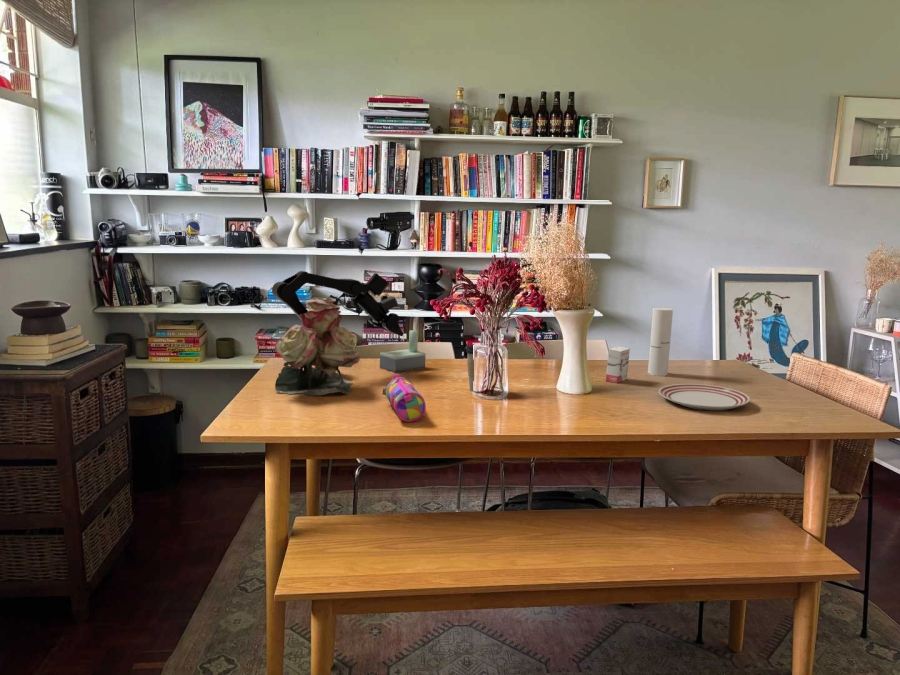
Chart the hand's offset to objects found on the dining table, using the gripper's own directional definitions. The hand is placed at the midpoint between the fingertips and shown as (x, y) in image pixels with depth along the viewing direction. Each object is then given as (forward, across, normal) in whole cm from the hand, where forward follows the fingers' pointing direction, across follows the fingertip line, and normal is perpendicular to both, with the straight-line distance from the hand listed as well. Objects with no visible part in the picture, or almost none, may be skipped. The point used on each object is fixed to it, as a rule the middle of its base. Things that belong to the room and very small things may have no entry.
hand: (397, 333), depth 250 cm
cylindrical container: (+71, -47, -52) cm, 100 cm away
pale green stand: (+7, -1, +5) cm, 9 cm away
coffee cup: (+18, -41, +2) cm, 45 cm away
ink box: (+56, -49, -36) cm, 83 cm away
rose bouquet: (-16, -17, +34) cm, 42 cm away
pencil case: (-6, -54, +26) cm, 60 cm away
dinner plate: (+59, -83, -40) cm, 110 cm away
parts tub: (+11, -1, +8) cm, 13 cm away
